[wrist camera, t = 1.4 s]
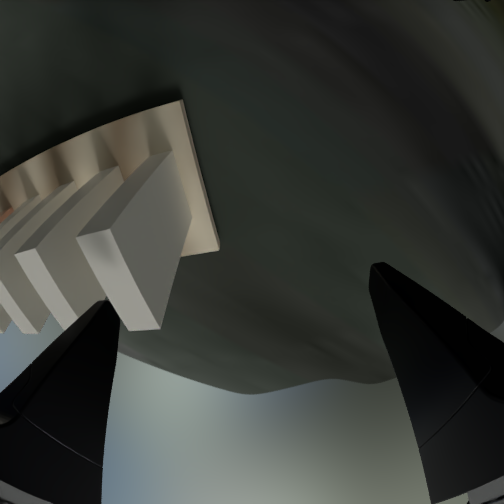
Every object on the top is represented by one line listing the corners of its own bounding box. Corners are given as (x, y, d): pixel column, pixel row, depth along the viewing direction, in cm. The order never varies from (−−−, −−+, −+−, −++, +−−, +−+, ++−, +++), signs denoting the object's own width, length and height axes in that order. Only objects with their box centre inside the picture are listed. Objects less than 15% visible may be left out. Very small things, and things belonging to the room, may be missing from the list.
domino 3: (118, 165, 18) (35, 248, 9) (141, 228, 20) (89, 333, 12) (99, 171, 18) (14, 254, 10) (123, 232, 21) (66, 333, 12)
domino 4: (172, 149, 17) (109, 228, 9) (192, 217, 20) (160, 328, 12) (149, 156, 17) (75, 237, 9) (171, 221, 20) (129, 331, 12)
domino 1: (39, 194, 18) (-39, 271, 10) (63, 246, 21) (3, 333, 13) (27, 199, 18) (-48, 274, 10) (51, 249, 21) (-8, 333, 13)
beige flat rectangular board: (182, 99, 16) (179, 100, 16) (220, 242, 23) (219, 250, 22) (-19, 187, 18) (-25, 192, 17) (26, 277, 24) (22, 283, 23)
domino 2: (74, 180, 18) (-11, 261, 10) (98, 237, 21) (38, 333, 13) (59, 186, 18) (-24, 266, 10) (83, 241, 21) (23, 333, 13)
